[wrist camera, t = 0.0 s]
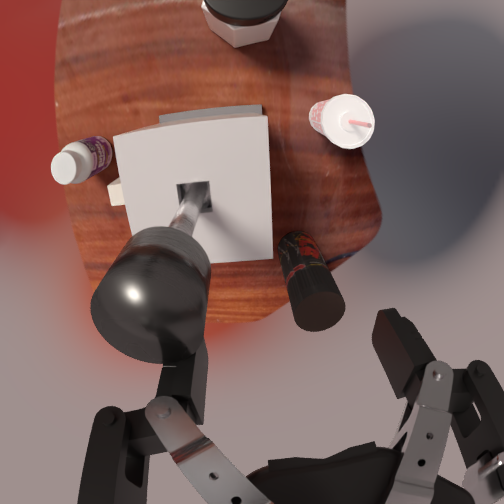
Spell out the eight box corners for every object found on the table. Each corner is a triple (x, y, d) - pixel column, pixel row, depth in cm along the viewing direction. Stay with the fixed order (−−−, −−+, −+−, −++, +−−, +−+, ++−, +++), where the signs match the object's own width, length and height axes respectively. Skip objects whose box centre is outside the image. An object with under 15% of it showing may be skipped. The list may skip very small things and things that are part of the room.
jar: (266, 54, 30) (278, 32, 19) (204, 43, 29) (189, 17, 18) (282, 1, 26) (299, -36, 15) (221, -11, 24) (215, -51, 14)
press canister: (145, 118, 33) (75, 133, 17) (260, 104, 33) (281, 101, 17) (159, 206, 39) (111, 279, 23) (265, 197, 40) (285, 268, 23)
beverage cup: (348, 136, 36) (399, 155, 23) (306, 141, 36) (342, 161, 24) (342, 94, 33) (393, 92, 20) (299, 98, 33) (333, 94, 21)
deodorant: (269, 250, 44) (283, 316, 31) (297, 223, 42) (323, 281, 29) (295, 271, 46) (316, 338, 33) (322, 246, 44) (355, 308, 31)
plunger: (141, 145, 20) (8, 223, 7) (247, 132, 20) (268, 187, 7) (158, 239, 24) (93, 387, 11) (254, 232, 24) (273, 391, 11)
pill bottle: (119, 159, 35) (88, 176, 27) (93, 177, 36) (60, 198, 28) (103, 128, 33) (67, 137, 25) (77, 147, 34) (40, 162, 25)
